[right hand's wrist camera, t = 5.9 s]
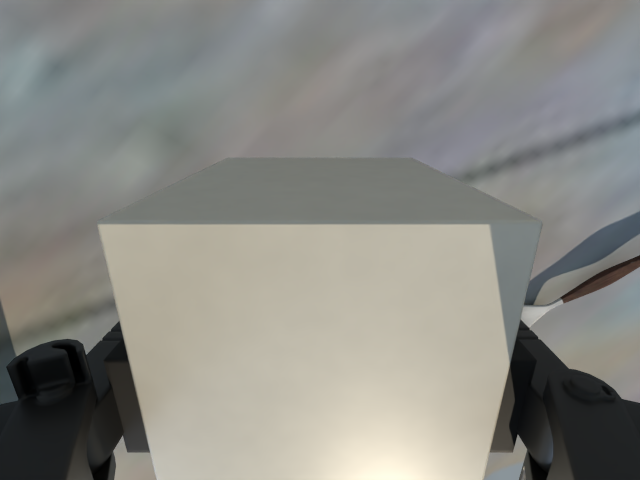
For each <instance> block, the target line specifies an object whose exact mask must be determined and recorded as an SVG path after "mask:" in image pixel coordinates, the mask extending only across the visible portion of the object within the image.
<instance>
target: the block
mask: <svg viewBox="0 0 640 480" xmlns="http://www.w3.org/2000/svg"><path fill="white" fill-rule="evenodd" d="M97 226H98V231H99V235H100V239H101V243H102V248H103V252H104V256H105V261H106V265H107V269H108V274H109V278H110V282H111V286H112V291H113V295H114V299H115V304H116V308H117V312H118V317H119V321H120V325H121V330H122V334H123V338H124V342H125V347H126V351H127V355H128V360H129V364H130V368H131V373H132V377H133V381H134V385H135V390H136V394H137V398H138V403H139V407H140V411H141V416H142V420H143V424H144V428H145V433H146V437H147V441H148V446H149V450H150V454H151V459H152V463H153V467H154V472H155V476H156V480H483V479H484V474H485V470H486V466H487V462H488V457H489V453H490V449H491V444H492V440H493V436H494V431H495V427H496V423H497V418H498V414H499V410H500V405H501V401H502V397H503V393H504V388H505V384H506V380H507V375H508V371H509V367H510V362H511V358H512V354H513V349H514V345H515V341H516V336H517V332H518V328H519V324H520V319H521V315H522V311H523V306H524V302H525V298H526V293H527V289H528V285H529V280H530V276H531V272H532V267H533V263H534V259H535V255H536V250H537V246H538V242H539V237H540V233H541V229H542V221H541V220H539V219H537V218H535V217H533V216H531V215H529V214H527V213H525V212H523V211H521V210H519V209H517V208H515V207H513V206H510V205H508V204H506V203H504V202H502V201H500V200H498V199H496V198H494V197H492V196H490V195H488V194H486V193H484V192H482V191H479V190H477V189H475V188H473V187H471V186H469V185H467V184H465V183H463V182H461V181H459V180H457V179H455V178H453V177H451V176H448V175H446V174H444V173H442V172H440V171H438V170H436V169H434V168H432V167H430V166H428V165H426V164H424V163H422V162H420V161H417V160H415V159H413V158H227V159H224V160H222V161H220V162H218V163H216V164H214V165H212V166H210V167H208V168H206V169H204V170H202V171H200V172H198V173H195V174H193V175H191V176H189V177H187V178H185V179H183V180H181V181H179V182H177V183H175V184H173V185H171V186H169V187H166V188H164V189H162V190H160V191H158V192H156V193H154V194H152V195H150V196H148V197H146V198H144V199H142V200H140V201H137V202H135V203H133V204H131V205H129V206H127V207H125V208H123V209H121V210H119V211H117V212H115V213H113V214H111V215H108V216H106V217H104V218H102V219H100V220H98V222H97Z"/></svg>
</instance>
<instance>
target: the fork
mask: <svg viewBox="0 0 640 480" xmlns="http://www.w3.org/2000/svg"><path fill="white" fill-rule="evenodd" d="M639 267H640V255H639V256H637V257H635V258H633V259H630V260H628V261H625V262H623V263H620V264H618V265H616V266H613V267H611V268H608V269H606V270H604V271H602V272H600V273H598V274H596V275H595V276H593V277H591V278H590V279H588V280H587V281H585V282H583V283H582V284H580V285H579V286H577V287H576V288H574V289H573V290H571V291H570V292H568V293H566V294H565V295H563V296H562V297H560V298H559V299H557V300H555V301H554V302H552V303H550V304H547V305H524V306H523V311H522V315H521V320H522V321H523V322H524V323H525V324H526V325H527V326H528V327H530V326H531V325H532V324H533V323H534V322H536V321H537V320H538V319H539V318H540V317H541V316H542V315H544V314H545V313H546V312H547V311H549V310H550V309H552V308H554V307H556V306H559V305H561V304H563V303H566V302H568V301H571V300H574V299H576V298H579V297H581V296H584V295H587V294H589V293H592V292H594V291H597V290H599V289H601V288H604V287H606V286H608V285H610V284H612V283H614V282H615V281H617V280H619V279H620V278H622V277H624V276H625V275H627V274H629V273H630V272H632V271H634V270H635V269H637V268H639Z"/></svg>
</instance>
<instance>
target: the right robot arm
mask: <svg viewBox="0 0 640 480" xmlns="http://www.w3.org/2000/svg"><path fill="white" fill-rule="evenodd" d="M7 370H8V373H9V375H10V378H11V380H12V383H13V386H14V388H15V391H16V394H17V396H18V401H15V402H10V403H6V404H1V405H0V480H114V476H115V469H116V463H115V456H114V453H113V450H114V449H115V447H116V445H117V444H118V442H119V440H120V439H121V437H122V435H123V437H124V441H125V445H126V449H127V452H150V450H149V446H148V441H147V437H146V433H145V428H144V424H143V420H142V416H141V411H140V407H139V403H138V398H137V394H136V390H135V385H134V381H133V377H132V373H131V368H130V364H129V360H128V355H127V351H126V347H125V342H124V338H123V334H122V330H121V325H120V321H119V322H118V323H117V324H116V325H115V326H114V327H113V328H112V329H111V332H108V333H107V334H106V335H105V336H104V337H103V340H102V341H100V342H99V343H98V344H97V345H96V346H95V347H94V348H93V349H92V350H91V351H90V352H89V353H88V354H87V355H86V354H85V350H84V347H83V344H82V343H80V342H79V341H78V340H71V339H63V340H55V341H51V342H48V343H44V344H40V345H38V346H36V347H34V348H31V349H29V350H27V351H25V352H24V353H22V354H21V355H19V356H17V357H16V358H14V359H13V360H12V361H11V363H10V364H9V365H8V366H7ZM517 435H519V436H520V438H521V440H522V441H523V443H524V445H525V446H526V448H527V453H526V456H525V460H524V463H523V467H522V471H521V474H520V478H519V480H640V403H637V402H633V401H628V400H624V399H621V397H620V396H619V395H618V394H617V392H616V391H615V390H614V389H613V388H612V387H610V386H609V385H608V384H606V383H605V382H604V381H602V380H600V379H598V378H596V377H594V376H592V375H590V374H587V373H584V372H581V371H578V370H574V369H569V368H568V367H567V366H566V365H565V364H564V363H563V362H562V361H561V360H560V359H559V358H558V357H557V356H556V355H555V354H554V353H553V352H552V351H551V350H550V349H549V348H548V347H547V346H546V345H545V344H544V343H543V342H542V341H541V340H539V339H538V337H537V336H536V335H535V334H534V332H533V331H532V330H529V327H528V326H527V325H526V324H525V323H524V322H523V321H522V320H521V319H520V324H519V328H518V332H517V336H516V341H515V345H514V349H513V354H512V358H511V362H510V367H509V371H508V375H507V380H506V384H505V388H504V393H503V397H502V401H501V405H500V410H499V414H498V418H497V423H496V427H495V431H494V436H493V440H492V444H491V449H490V452H513V450H514V446H515V442H516V438H517Z"/></svg>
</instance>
